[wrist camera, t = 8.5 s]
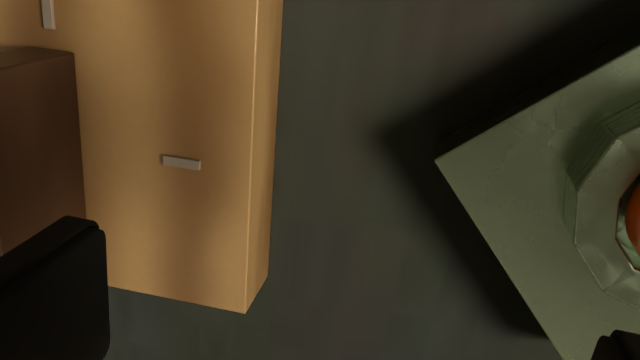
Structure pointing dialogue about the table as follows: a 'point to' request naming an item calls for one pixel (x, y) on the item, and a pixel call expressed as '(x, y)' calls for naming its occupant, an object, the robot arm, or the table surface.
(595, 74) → the button box
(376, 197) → the table surface
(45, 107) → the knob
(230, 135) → the light wood flat block
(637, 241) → the button
